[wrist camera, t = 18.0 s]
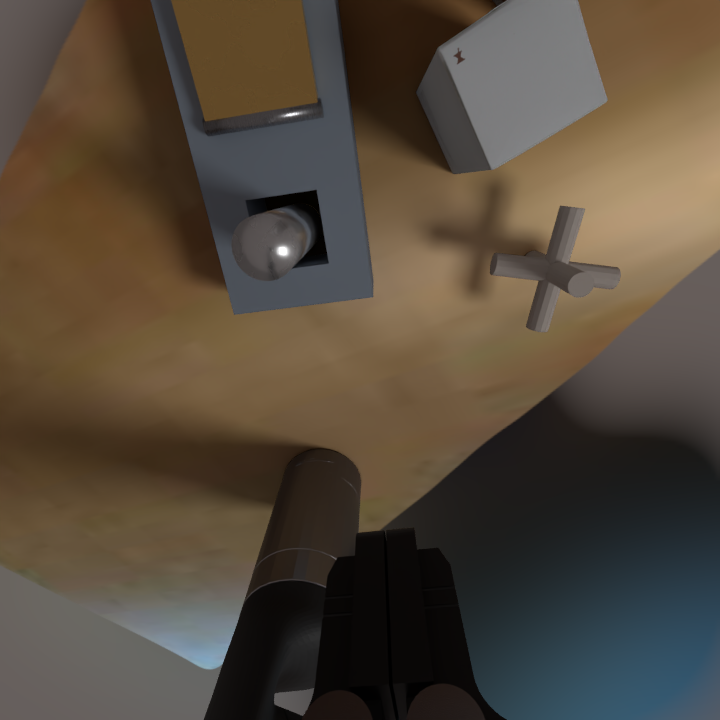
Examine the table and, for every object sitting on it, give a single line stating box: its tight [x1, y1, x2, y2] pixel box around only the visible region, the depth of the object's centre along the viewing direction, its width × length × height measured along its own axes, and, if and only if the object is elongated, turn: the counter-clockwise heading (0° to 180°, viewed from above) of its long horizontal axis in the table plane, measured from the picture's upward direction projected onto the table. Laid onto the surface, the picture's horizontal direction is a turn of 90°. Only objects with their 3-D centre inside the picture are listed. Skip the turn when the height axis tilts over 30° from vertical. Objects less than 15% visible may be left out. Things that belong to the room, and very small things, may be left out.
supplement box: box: [416, 0, 608, 174], centre depth 29 cm, size 7×7×13 cm
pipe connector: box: [490, 206, 621, 332], centre depth 34 cm, size 10×10×10 cm
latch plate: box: [171, 0, 324, 137], centre depth 28 cm, size 8×8×1 cm
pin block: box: [151, 0, 373, 315], centre depth 34 cm, size 22×12×6 cm, turn 8°
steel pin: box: [231, 203, 323, 281], centre depth 32 cm, size 4×4×14 cm
